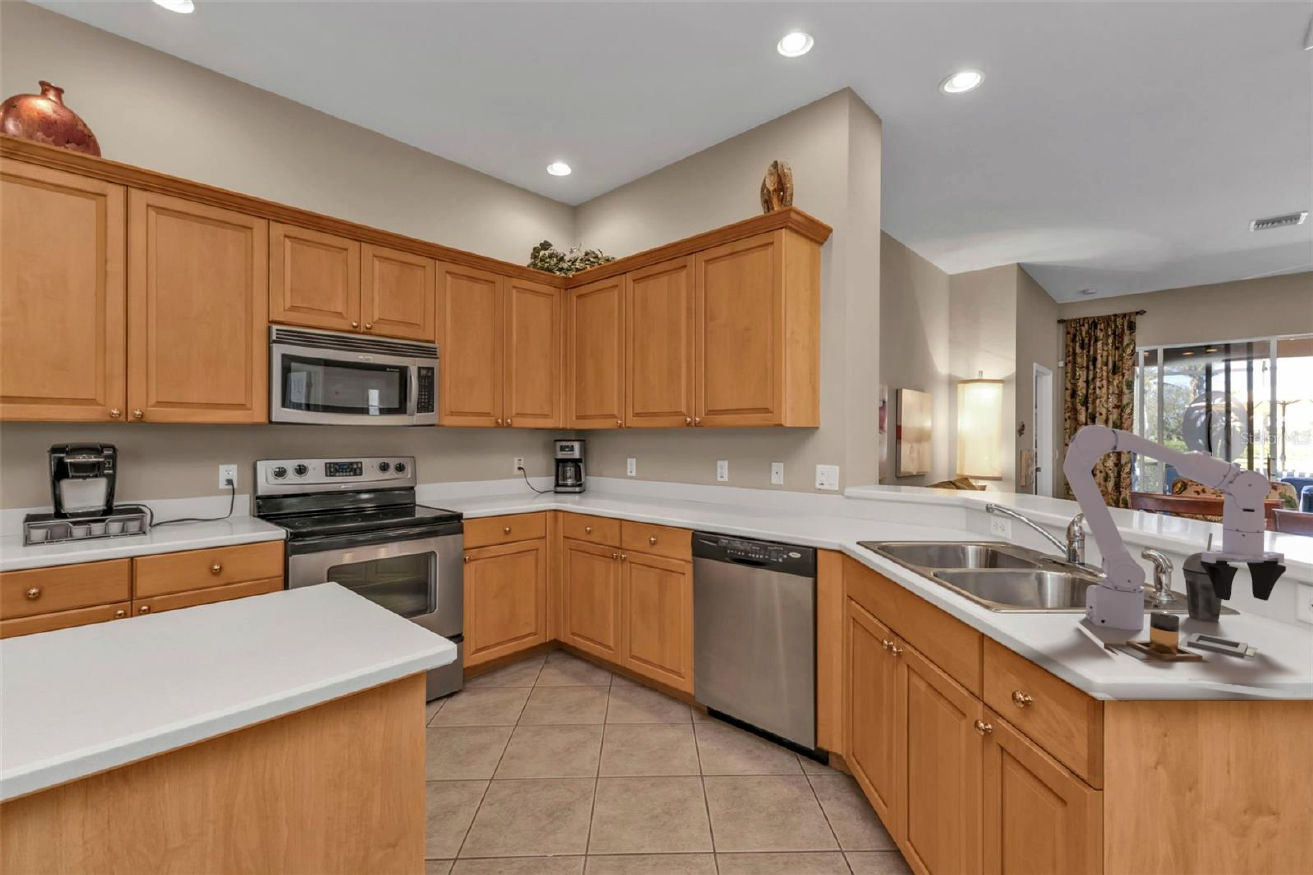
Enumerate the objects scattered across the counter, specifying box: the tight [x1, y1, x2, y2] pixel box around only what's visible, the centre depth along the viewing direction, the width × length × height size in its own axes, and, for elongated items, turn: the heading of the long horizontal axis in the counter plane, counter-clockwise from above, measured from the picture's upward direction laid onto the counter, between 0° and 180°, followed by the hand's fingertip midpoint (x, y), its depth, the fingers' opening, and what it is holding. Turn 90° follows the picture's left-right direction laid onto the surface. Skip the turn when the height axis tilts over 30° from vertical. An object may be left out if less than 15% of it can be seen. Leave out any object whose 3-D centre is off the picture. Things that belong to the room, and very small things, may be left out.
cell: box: [1149, 610, 1180, 654], centre depth 107 cm, size 4×4×8 cm
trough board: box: [1103, 640, 1211, 663], centre depth 107 cm, size 12×9×2 cm
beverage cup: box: [1182, 532, 1223, 623], centre depth 126 cm, size 7×7×20 cm
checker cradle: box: [1178, 632, 1258, 662], centre depth 110 cm, size 10×10×2 cm
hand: (1241, 599), depth 113 cm, fingers open, 7 cm apart
